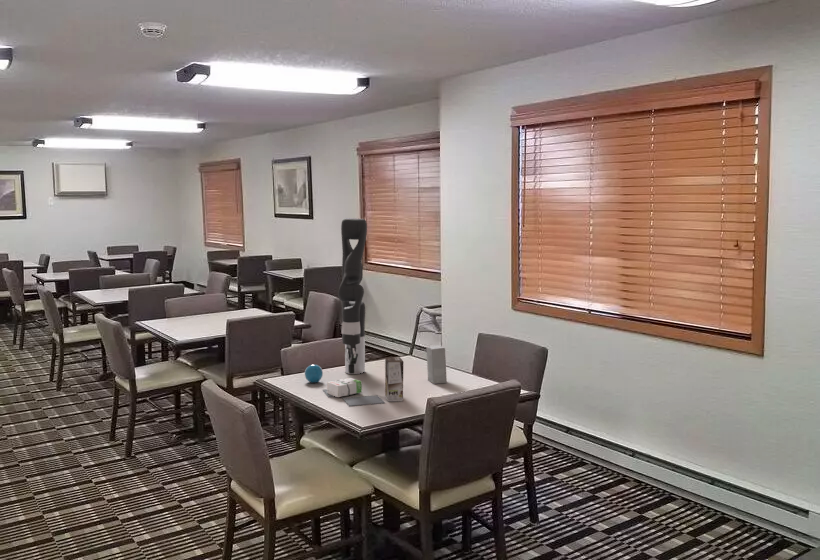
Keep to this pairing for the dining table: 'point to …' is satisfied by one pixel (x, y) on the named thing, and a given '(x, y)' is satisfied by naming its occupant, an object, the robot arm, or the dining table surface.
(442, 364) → the skincare box
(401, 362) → the coffee box
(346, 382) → the ink box
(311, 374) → the ball
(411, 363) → the dining table surface
